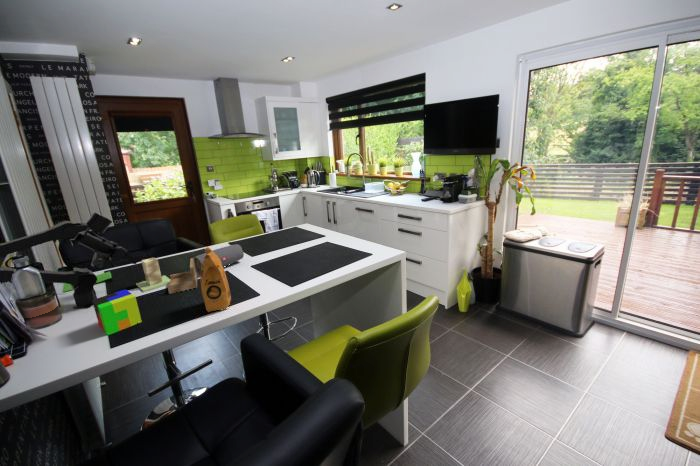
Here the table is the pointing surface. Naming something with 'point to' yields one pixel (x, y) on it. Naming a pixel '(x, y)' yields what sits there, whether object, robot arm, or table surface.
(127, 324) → the puzzle toy
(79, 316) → the table surface
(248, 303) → the table surface
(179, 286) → the light wood angled piece
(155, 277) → the beech block
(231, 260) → the bluetooth speaker
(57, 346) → the table surface
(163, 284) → the olive mat
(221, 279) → the coffee package
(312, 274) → the table surface
